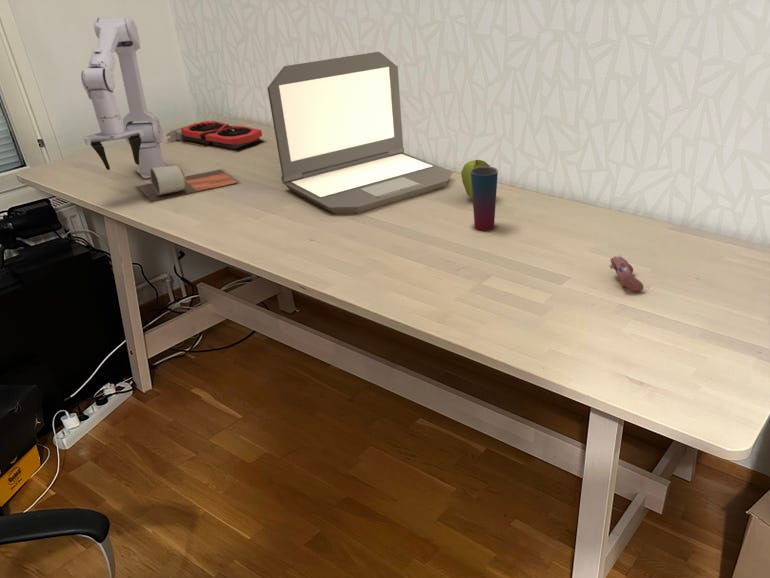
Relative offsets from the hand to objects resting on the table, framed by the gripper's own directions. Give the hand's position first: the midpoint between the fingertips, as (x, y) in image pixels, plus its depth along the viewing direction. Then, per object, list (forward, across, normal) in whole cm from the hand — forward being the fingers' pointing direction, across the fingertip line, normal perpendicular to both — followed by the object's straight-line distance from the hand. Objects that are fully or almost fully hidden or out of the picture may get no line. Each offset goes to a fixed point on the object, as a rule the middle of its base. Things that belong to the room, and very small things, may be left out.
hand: (122, 166), depth 192 cm
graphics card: (+9, +39, +42) cm, 58 cm away
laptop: (+10, +60, -33) cm, 69 cm away
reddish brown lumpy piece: (+11, +74, -121) cm, 142 cm away
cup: (+11, +68, -77) cm, 103 cm away
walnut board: (+10, +16, +3) cm, 19 cm away
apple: (+10, +78, -60) cm, 99 cm away
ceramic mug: (+10, +10, 0) cm, 14 cm away
